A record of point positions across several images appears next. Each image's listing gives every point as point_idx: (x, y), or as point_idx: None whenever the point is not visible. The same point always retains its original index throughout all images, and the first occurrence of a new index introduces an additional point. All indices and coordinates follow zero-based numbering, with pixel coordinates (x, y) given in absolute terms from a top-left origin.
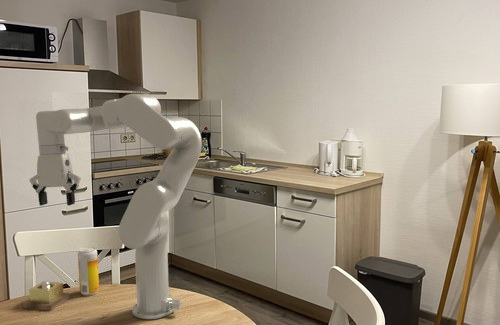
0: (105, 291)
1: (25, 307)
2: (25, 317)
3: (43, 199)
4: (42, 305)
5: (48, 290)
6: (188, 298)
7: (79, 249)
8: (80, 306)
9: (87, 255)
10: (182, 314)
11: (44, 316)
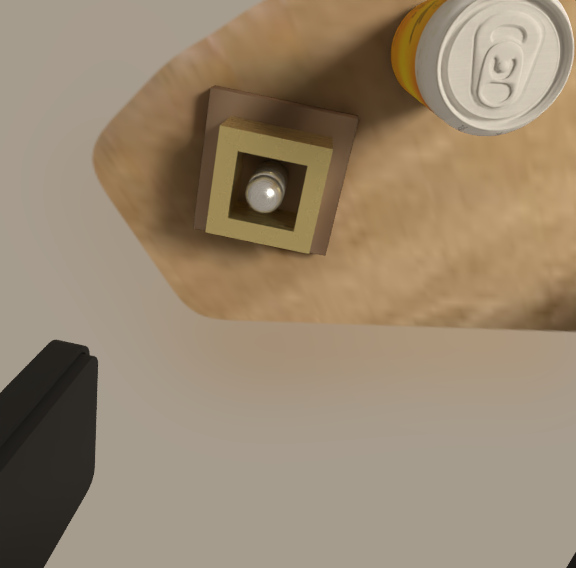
0: None
1: None
2: (254, 299)
3: (49, 508)
4: None
5: (302, 245)
6: None
7: (438, 67)
8: (434, 211)
9: (509, 131)
10: None
11: (321, 294)
